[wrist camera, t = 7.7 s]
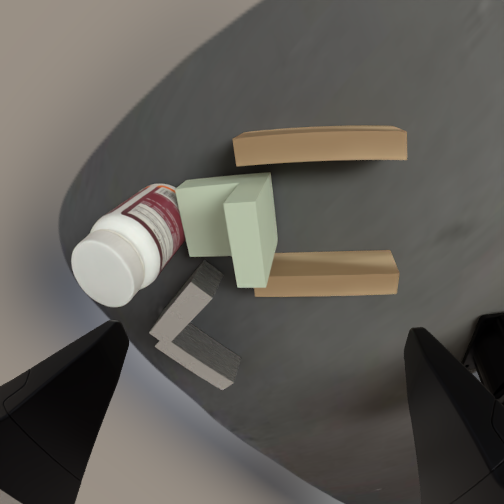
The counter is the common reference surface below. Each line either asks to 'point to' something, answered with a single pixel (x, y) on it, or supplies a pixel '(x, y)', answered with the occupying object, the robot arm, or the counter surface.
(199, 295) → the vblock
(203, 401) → the counter surface
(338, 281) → the channel
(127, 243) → the pill bottle
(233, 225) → the block
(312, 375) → the counter surface
